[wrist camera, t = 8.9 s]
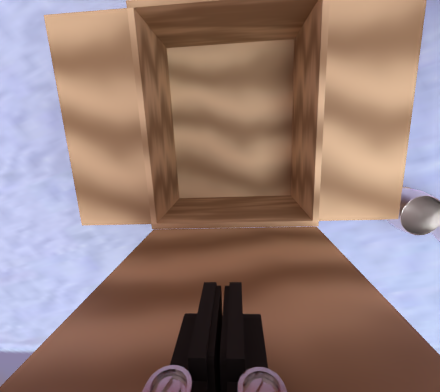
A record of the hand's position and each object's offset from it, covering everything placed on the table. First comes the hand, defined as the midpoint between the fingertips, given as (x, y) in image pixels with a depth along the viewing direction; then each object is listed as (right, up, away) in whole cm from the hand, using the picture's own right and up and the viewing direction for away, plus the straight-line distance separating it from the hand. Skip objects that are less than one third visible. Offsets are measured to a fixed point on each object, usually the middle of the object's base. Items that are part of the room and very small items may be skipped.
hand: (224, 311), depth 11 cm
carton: (+2, +15, +25) cm, 30 cm away
